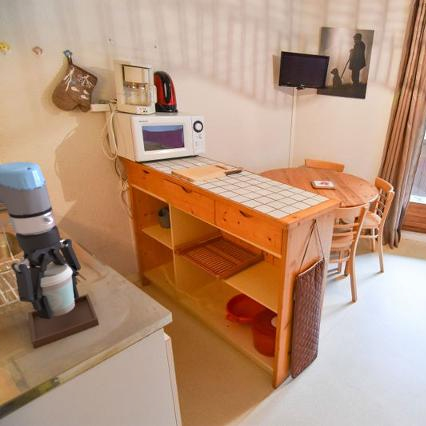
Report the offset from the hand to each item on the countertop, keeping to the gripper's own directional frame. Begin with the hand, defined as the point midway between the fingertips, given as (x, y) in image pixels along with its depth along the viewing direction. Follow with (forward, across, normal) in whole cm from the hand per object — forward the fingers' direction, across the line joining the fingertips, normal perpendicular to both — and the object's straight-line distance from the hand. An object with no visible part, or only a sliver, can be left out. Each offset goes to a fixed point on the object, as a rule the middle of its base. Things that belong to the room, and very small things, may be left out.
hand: (60, 306), depth 83 cm
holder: (+5, 0, 0) cm, 5 cm away
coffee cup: (+1, 0, 0) cm, 1 cm away
